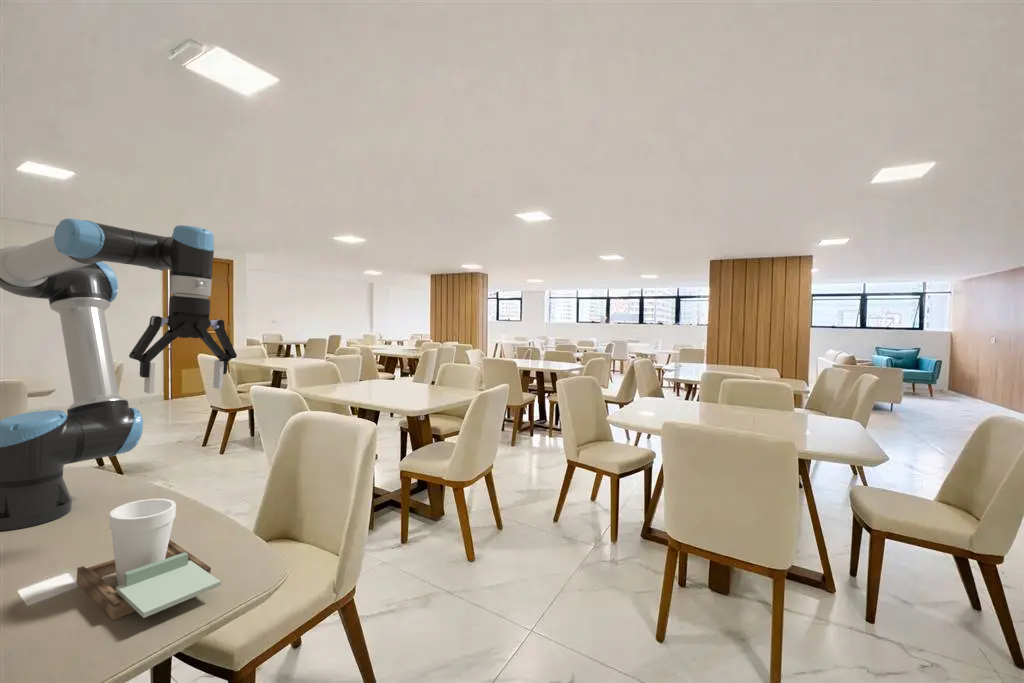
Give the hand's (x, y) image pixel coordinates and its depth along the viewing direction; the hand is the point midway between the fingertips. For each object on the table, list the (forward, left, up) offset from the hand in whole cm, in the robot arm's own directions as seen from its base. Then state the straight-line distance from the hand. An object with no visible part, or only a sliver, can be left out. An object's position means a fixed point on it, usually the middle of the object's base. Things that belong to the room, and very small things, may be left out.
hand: (185, 390), depth 101 cm
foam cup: (+16, -13, -32) cm, 38 cm away
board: (+18, -13, -32) cm, 39 cm away
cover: (+28, -12, -29) cm, 43 cm away
